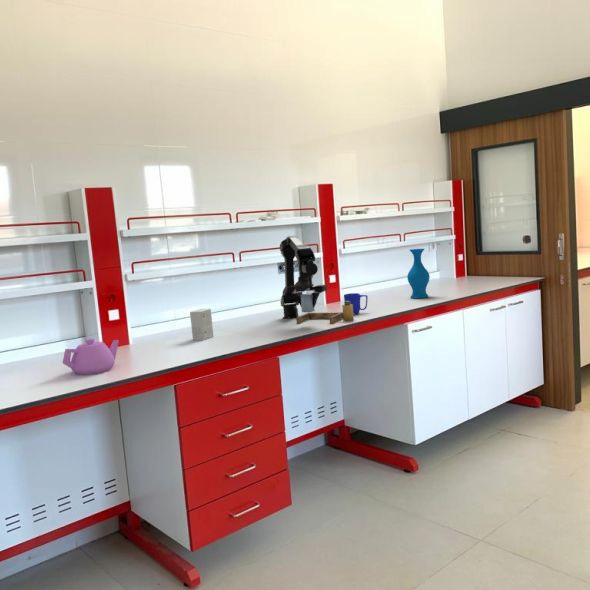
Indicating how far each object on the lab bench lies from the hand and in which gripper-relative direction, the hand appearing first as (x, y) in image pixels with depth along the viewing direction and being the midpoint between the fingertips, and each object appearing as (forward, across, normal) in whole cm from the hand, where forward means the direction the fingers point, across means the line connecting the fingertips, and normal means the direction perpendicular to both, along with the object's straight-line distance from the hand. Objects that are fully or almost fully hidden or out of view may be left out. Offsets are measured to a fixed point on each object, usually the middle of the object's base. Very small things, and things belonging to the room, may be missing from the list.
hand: (307, 307), depth 286 cm
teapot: (+9, -48, -90) cm, 102 cm away
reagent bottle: (+9, +14, +15) cm, 22 cm away
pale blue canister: (+2, 0, +1) cm, 2 cm away
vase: (+10, +30, +89) cm, 94 cm away
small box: (+9, -39, -31) cm, 51 cm away
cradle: (+9, 0, +12) cm, 15 cm away
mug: (+9, +11, +35) cm, 38 cm away
